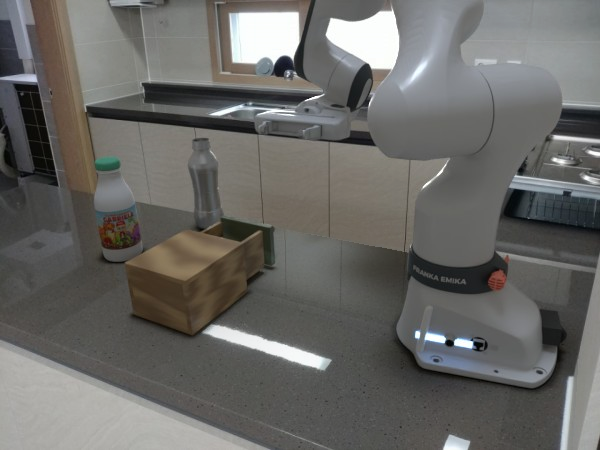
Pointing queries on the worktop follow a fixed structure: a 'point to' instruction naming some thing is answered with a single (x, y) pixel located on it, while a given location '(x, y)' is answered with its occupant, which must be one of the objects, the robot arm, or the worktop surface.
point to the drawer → (248, 240)
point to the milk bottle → (116, 213)
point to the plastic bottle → (205, 184)
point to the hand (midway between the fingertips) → (280, 133)
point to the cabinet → (187, 280)
